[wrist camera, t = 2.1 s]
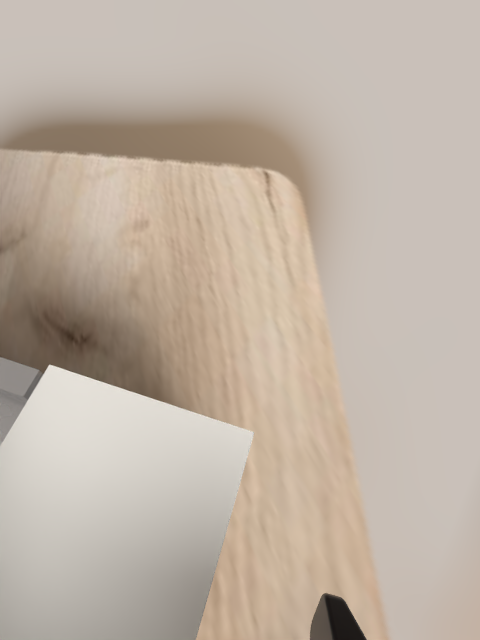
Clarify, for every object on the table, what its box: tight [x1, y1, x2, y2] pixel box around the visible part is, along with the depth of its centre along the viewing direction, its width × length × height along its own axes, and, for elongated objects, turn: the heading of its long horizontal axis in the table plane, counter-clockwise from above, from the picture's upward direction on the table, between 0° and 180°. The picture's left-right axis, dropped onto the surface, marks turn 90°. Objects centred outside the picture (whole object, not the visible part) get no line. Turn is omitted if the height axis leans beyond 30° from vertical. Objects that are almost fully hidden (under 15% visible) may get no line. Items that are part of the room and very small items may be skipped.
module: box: [0, 364, 254, 640], centre depth 11 cm, size 5×5×10 cm
